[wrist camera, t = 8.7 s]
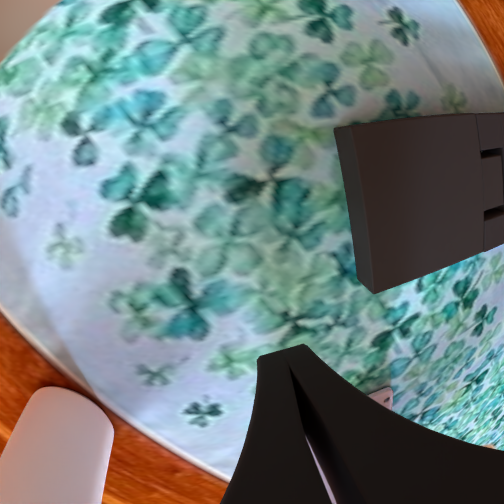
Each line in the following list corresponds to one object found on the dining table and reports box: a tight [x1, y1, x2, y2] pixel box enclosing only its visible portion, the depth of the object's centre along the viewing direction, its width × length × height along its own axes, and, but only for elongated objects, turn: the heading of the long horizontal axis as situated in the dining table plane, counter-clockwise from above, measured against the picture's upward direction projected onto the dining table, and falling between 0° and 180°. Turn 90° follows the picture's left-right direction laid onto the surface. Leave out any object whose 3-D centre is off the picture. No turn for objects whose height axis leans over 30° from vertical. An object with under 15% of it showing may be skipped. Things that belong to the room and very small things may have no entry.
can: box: [0, 386, 114, 504], centre depth 12 cm, size 6×6×12 cm
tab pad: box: [334, 113, 503, 294], centre depth 15 cm, size 8×10×2 cm
